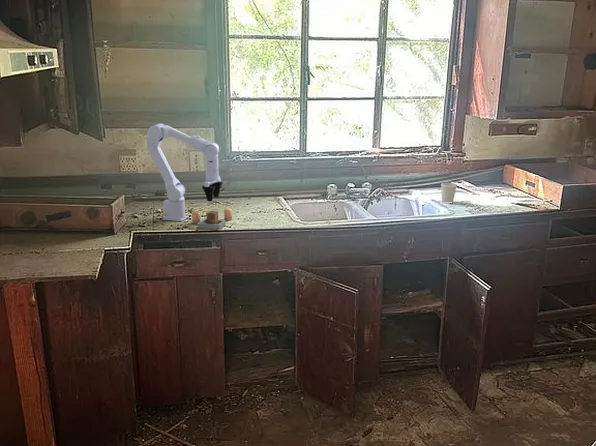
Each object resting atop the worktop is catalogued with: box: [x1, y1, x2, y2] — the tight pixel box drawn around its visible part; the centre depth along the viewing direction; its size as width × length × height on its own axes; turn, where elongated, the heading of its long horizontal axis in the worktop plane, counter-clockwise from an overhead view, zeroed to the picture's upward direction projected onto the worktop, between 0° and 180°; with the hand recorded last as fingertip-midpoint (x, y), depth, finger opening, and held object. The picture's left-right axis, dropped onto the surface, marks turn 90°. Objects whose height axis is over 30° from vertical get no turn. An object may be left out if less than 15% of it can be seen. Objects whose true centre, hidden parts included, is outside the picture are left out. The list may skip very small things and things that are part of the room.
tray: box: [197, 218, 226, 231], centre depth 253 cm, size 10×8×2 cm
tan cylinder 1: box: [191, 210, 201, 225], centre depth 258 cm, size 4×4×5 cm
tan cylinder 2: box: [223, 207, 233, 222], centre depth 264 cm, size 4×4×5 cm
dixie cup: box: [440, 182, 458, 203], centre depth 302 cm, size 8×8×10 cm
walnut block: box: [205, 210, 219, 225], centre depth 252 cm, size 4×4×6 cm
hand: (212, 199), depth 261 cm, fingers open, 7 cm apart
